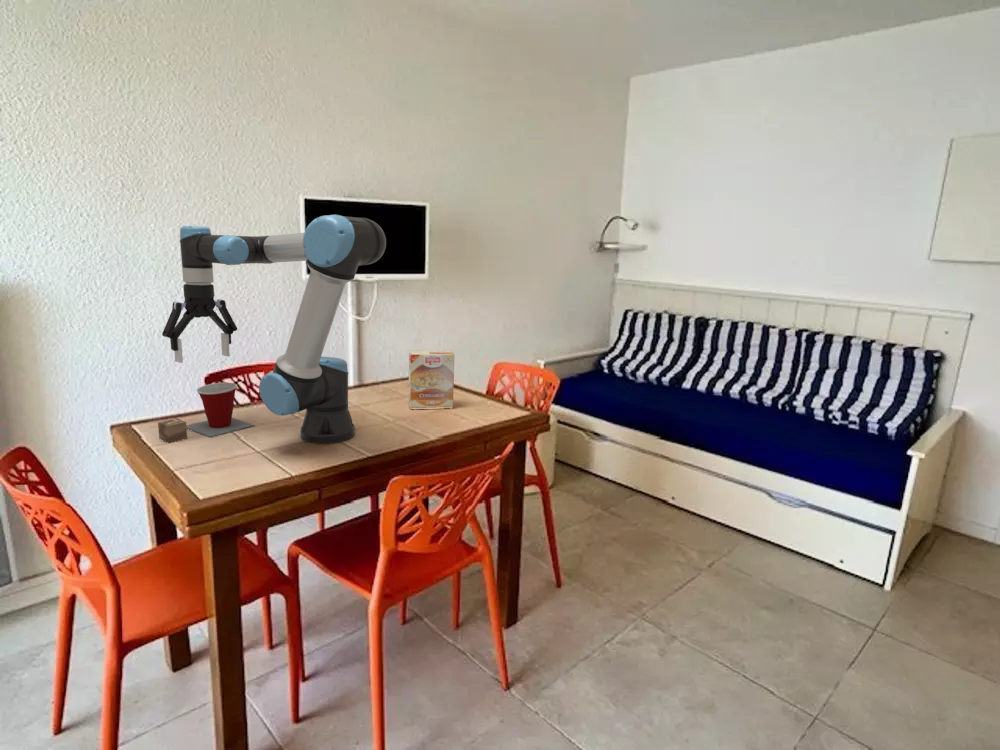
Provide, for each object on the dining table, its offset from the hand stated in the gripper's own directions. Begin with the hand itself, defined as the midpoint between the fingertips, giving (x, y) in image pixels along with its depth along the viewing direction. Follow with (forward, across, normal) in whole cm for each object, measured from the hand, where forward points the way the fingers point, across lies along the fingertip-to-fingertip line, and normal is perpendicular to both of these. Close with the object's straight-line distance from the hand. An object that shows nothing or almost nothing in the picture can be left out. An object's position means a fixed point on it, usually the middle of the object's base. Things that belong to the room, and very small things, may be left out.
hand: (203, 358), depth 167 cm
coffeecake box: (+21, -62, +31) cm, 73 cm away
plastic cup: (+21, -3, 0) cm, 21 cm away
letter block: (+21, +10, +1) cm, 24 cm away
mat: (+21, -3, 0) cm, 21 cm away
